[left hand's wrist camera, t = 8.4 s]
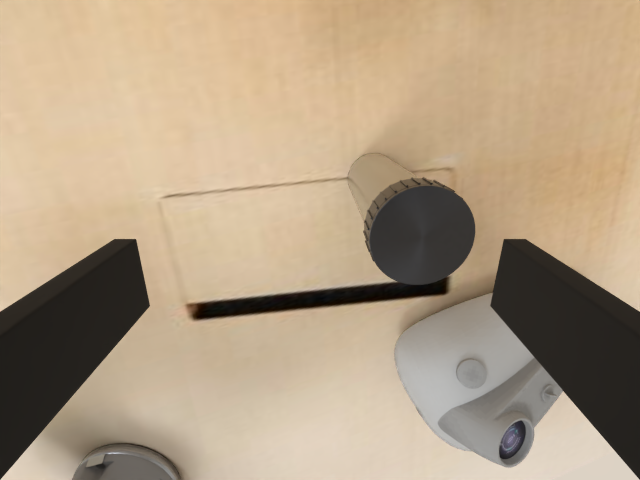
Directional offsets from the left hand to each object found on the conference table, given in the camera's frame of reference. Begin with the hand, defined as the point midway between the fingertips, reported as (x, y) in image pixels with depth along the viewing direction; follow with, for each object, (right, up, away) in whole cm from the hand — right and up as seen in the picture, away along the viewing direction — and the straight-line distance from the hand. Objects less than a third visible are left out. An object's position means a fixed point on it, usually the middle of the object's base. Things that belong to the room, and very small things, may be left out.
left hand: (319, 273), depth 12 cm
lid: (+6, +1, +7) cm, 9 cm away
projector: (+21, -11, +31) cm, 39 cm away
